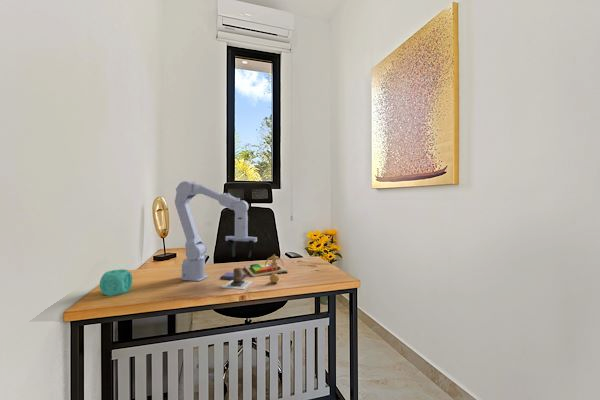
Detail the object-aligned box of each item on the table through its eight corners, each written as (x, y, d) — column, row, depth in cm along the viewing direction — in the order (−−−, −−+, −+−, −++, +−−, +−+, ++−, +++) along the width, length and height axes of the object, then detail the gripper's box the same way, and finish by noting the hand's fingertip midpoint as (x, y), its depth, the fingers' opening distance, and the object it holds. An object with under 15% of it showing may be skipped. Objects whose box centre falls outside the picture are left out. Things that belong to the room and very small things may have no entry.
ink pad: (220, 279, 127) (220, 276, 127) (227, 274, 133) (227, 272, 133) (240, 280, 125) (240, 277, 125) (247, 276, 131) (247, 273, 131)
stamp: (230, 285, 117) (230, 270, 117) (234, 282, 121) (234, 267, 121) (240, 286, 116) (240, 270, 116) (244, 282, 121) (244, 267, 121)
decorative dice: (112, 289, 113) (111, 269, 113) (132, 288, 113) (132, 269, 113) (99, 296, 105) (99, 275, 105) (121, 295, 105) (121, 274, 105)
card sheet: (221, 287, 115) (221, 287, 115) (232, 280, 125) (232, 279, 125) (244, 289, 113) (244, 288, 113) (253, 281, 123) (253, 281, 123)
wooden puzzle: (243, 269, 146) (243, 262, 146) (277, 265, 153) (277, 259, 153) (250, 278, 130) (250, 270, 130) (288, 274, 137) (288, 266, 137)
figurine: (264, 284, 119) (265, 256, 119) (264, 280, 125) (264, 253, 125) (284, 283, 121) (284, 256, 120) (283, 279, 127) (283, 253, 126)
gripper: (222, 227, 124) (222, 258, 125) (253, 228, 121) (252, 260, 122) (229, 226, 131) (229, 254, 131) (258, 226, 128) (258, 256, 128)
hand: (241, 257), depth 127 cm, fingers open, 7 cm apart
